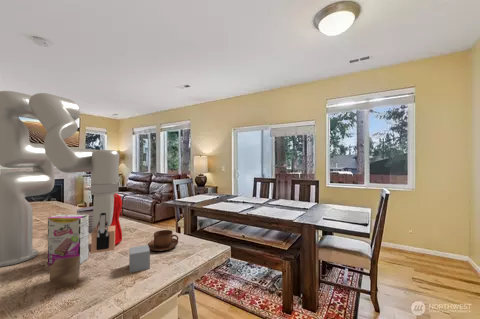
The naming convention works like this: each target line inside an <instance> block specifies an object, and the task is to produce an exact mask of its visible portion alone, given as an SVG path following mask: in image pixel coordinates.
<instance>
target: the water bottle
mask: <svg viewBox="0 0 480 319" xmlns="http://www.w3.org/2000/svg"><path fill="white" fill-rule="evenodd" d="M122 207H123V199H122V197H121V195H120V194H119V193H116V194H114V208H113V217H112V222H111V225H110V226H115V246H116V245H118V244H120V243H121V242H122V241H123V232H122V231H123V230H122V226H121V223H120V220H119V219H120V218H121V217H122V215H123V211H122ZM97 227H98V225H97Z"/></svg>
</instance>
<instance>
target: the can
mask: <svg viewBox="0 0 480 319" xmlns="http://www.w3.org/2000/svg"><path fill="white" fill-rule="evenodd" d="M76 215H89V233H90V234H92V231H93V229H94V228H93V227H92V222H93V206H87V207H82V208H79V209H76ZM95 228H96V227H95Z"/></svg>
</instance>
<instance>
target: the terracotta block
mask: <svg viewBox="0 0 480 319" xmlns="http://www.w3.org/2000/svg"><path fill="white" fill-rule="evenodd" d="M105 229H106V228H105ZM97 234H98V227H96V228H94V229H93V231H92V233H91V241H90V242H91V243H90V244H91V246H90V253H91V254H95V253H103V252H111V251H115V246H116V245H115V226H109V228H108V235H109V248H108V249H103V250H97V249H96V248H97Z"/></svg>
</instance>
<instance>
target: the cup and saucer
mask: <svg viewBox="0 0 480 319" xmlns="http://www.w3.org/2000/svg"><path fill="white" fill-rule="evenodd" d="M178 244H179V236H178V235H177V234H173V230H170V229H161V230H157V231H155V232H154V233H153V240H151V241H150V242H148V244H147V245H148V246H149V250H150V251H154V252H164V251H169V250H172V249H174V248H176V246H177V245H178Z"/></svg>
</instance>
